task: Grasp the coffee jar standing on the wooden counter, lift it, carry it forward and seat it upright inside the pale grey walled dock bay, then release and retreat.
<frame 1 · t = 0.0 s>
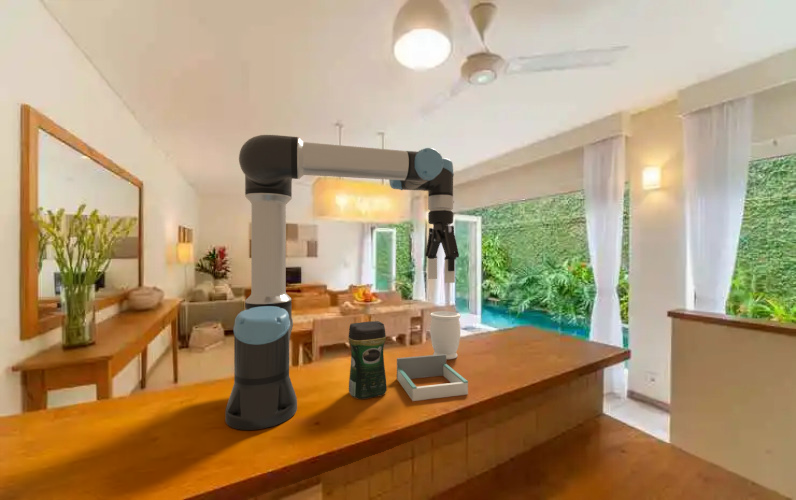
hand: (440, 280, 103), 28 cm above the counter, fingers open, 13 cm apart
dock: (430, 386, 93), on the counter
jar: (445, 356, 119), on the counter
coffee jar: (367, 394, 88), on the counter
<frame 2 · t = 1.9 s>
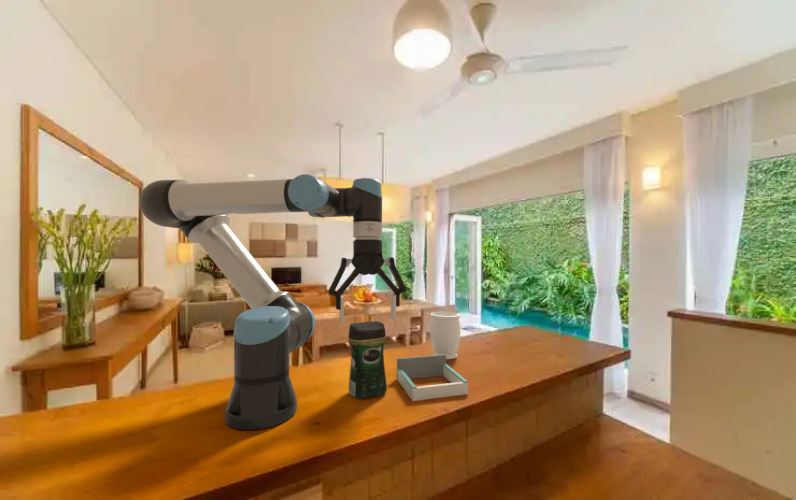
hand: (368, 320, 88), 19 cm above the counter, fingers open, 13 cm apart
nothing on the counter moved.
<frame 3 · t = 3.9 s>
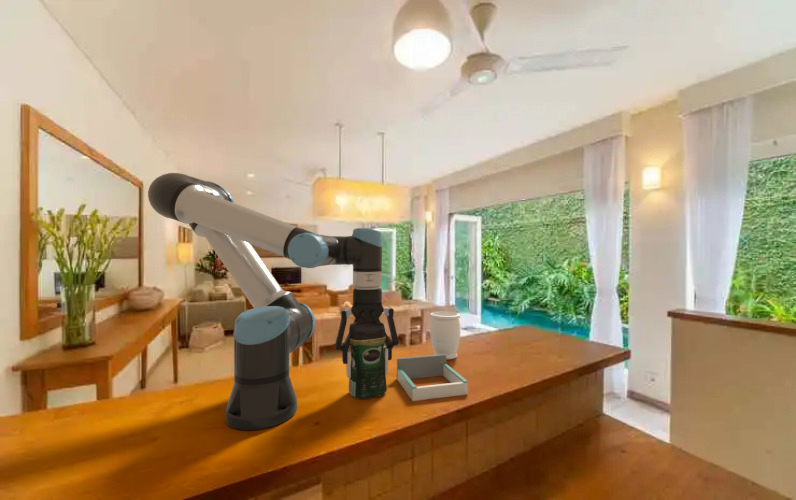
hand: (367, 374, 88), 5 cm above the counter, fingers closed on coffee jar, 9 cm apart
coffee jar: (367, 394, 88), on the counter, touching gripper
everything else where it was.
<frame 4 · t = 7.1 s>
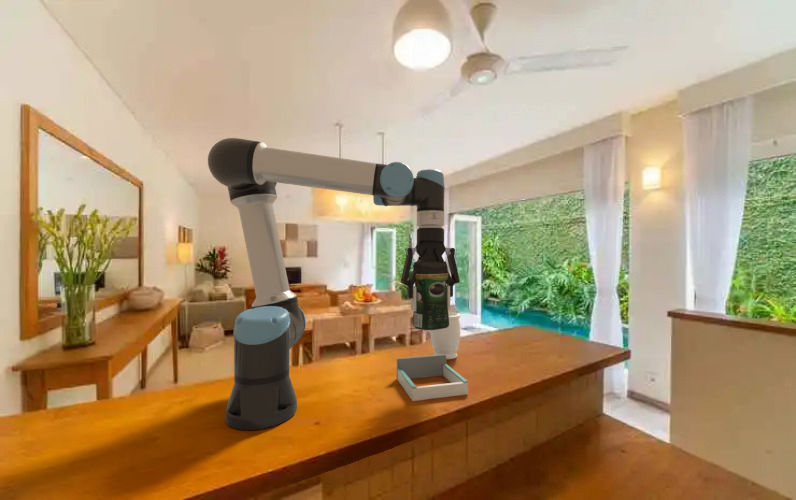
hand: (430, 309, 93), 21 cm above the counter, fingers closed on coffee jar, 9 cm apart
coffee jar: (430, 328, 93), point 16 cm above the counter, touching gripper
everything else where it was.
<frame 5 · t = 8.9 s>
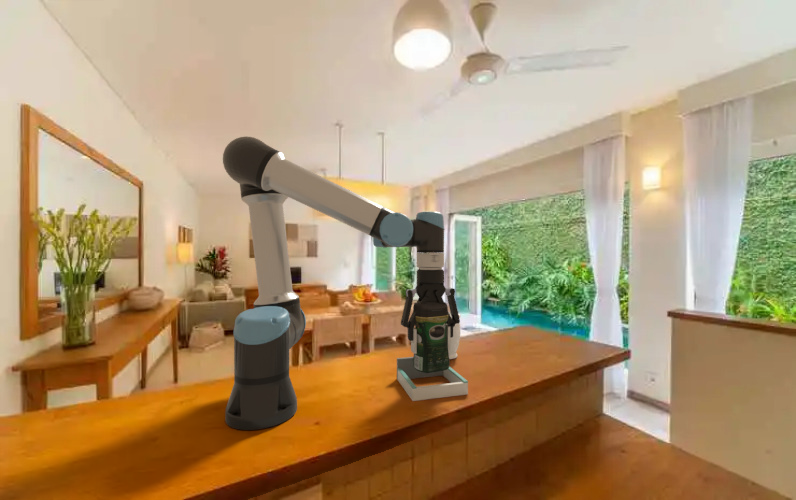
hand: (430, 350, 93), 10 cm above the counter, fingers closed on coffee jar, 9 cm apart
coffee jar: (430, 369, 93), point 5 cm above the counter, touching gripper
everything else where it was.
when the fingers open (6 cm above the counter, at t = 10.5 s): coffee jar drops 1 cm, resting in dock.
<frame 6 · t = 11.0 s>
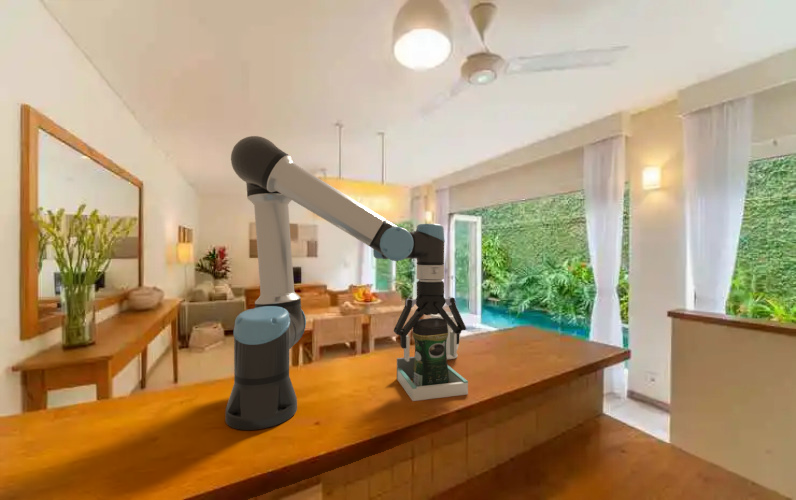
hand: (430, 358, 93), 8 cm above the counter, fingers open, 13 cm apart
coffee jar: (430, 386, 93), resting in dock
everything else where it was.
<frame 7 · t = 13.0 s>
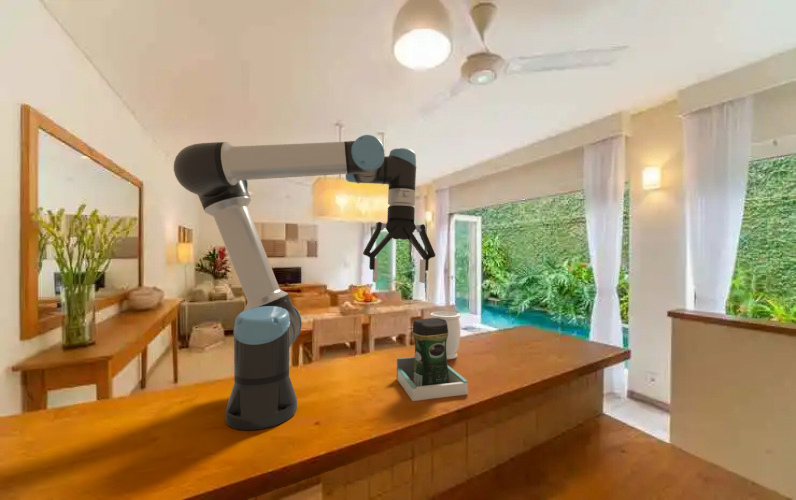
hand: (398, 282, 95), 28 cm above the counter, fingers open, 13 cm apart
nothing on the counter moved.
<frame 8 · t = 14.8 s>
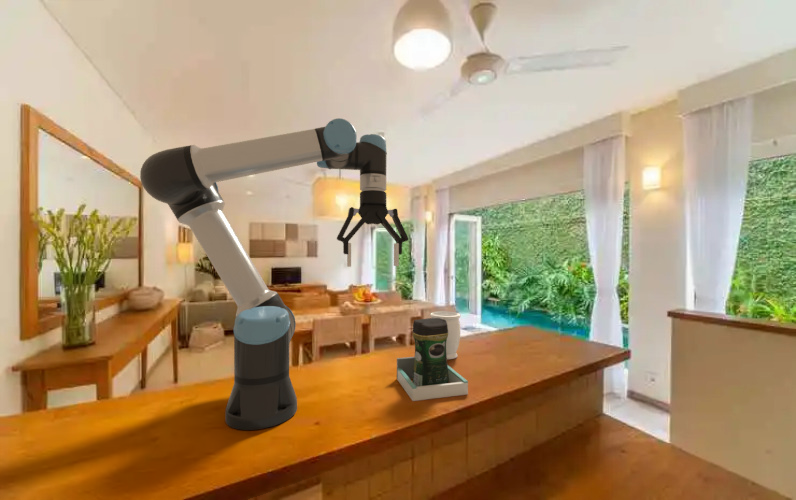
hand: (373, 266, 96), 33 cm above the counter, fingers open, 13 cm apart
nothing on the counter moved.
at the end: coffee jar inside the target area on the dock (0.0 cm from its centre), point 0.0 cm above the dock's base; coffee jar tilted 0°; the gripper is holding nothing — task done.
